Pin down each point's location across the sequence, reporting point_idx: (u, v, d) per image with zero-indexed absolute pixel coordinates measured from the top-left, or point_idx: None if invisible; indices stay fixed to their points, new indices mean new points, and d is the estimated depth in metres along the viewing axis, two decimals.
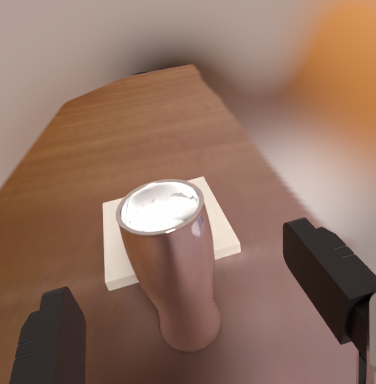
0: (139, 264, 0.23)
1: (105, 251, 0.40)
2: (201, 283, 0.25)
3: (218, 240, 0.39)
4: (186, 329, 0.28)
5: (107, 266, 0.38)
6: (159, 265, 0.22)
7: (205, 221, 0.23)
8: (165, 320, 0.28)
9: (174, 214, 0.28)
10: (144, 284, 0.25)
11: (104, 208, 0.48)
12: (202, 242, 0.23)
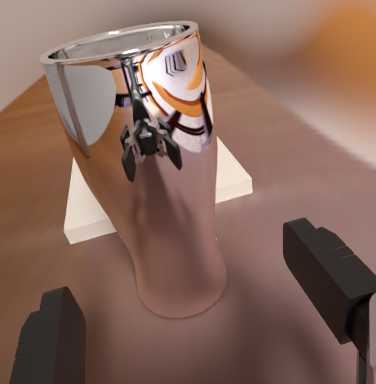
0: (82, 141, 0.13)
1: (70, 196, 0.30)
2: (195, 188, 0.14)
3: (222, 176, 0.28)
4: (173, 279, 0.18)
5: (69, 212, 0.28)
6: (116, 135, 0.12)
7: (201, 64, 0.13)
8: (140, 266, 0.18)
9: None
10: (97, 189, 0.14)
11: None
12: (195, 101, 0.13)
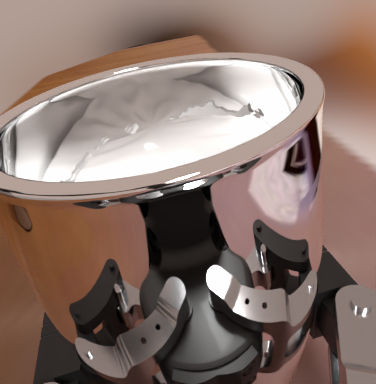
0: (65, 328, 0.06)
1: None
2: (286, 377, 0.07)
3: None
4: None
5: None
6: (141, 341, 0.05)
7: None
8: None
9: None
10: (97, 383, 0.07)
11: None
12: (313, 241, 0.06)
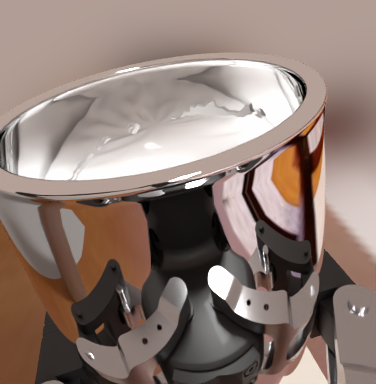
0: (66, 327, 0.06)
1: None
2: (287, 377, 0.07)
3: None
4: None
5: None
6: (143, 340, 0.05)
7: None
8: None
9: None
10: (98, 382, 0.07)
11: None
12: (316, 240, 0.06)
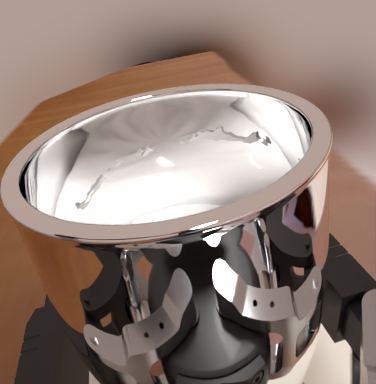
0: (87, 350, 0.06)
1: None
2: None
3: None
4: None
5: None
6: (161, 365, 0.06)
7: None
8: None
9: (197, 191, 0.12)
10: None
11: None
12: (320, 270, 0.06)
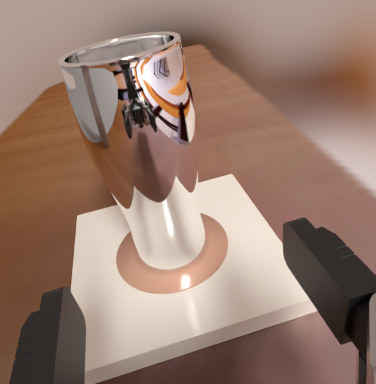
0: (90, 126, 0.17)
1: None
2: (179, 164, 0.18)
3: (276, 287, 0.21)
4: (163, 242, 0.22)
5: None
6: (116, 121, 0.16)
7: (182, 67, 0.17)
8: (136, 232, 0.22)
9: None
10: (101, 164, 0.18)
11: (78, 224, 0.30)
12: (178, 95, 0.17)
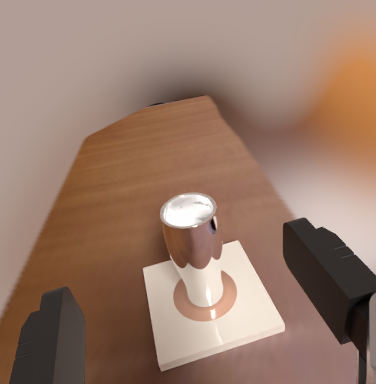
0: (175, 247, 0.36)
1: (153, 327, 0.42)
2: (214, 260, 0.38)
3: (263, 318, 0.41)
4: (203, 294, 0.41)
5: (158, 345, 0.40)
6: (189, 247, 0.36)
7: (217, 220, 0.36)
8: (189, 288, 0.42)
9: (194, 216, 0.42)
10: (177, 261, 0.38)
11: (145, 274, 0.50)
12: (215, 233, 0.36)
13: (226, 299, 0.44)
